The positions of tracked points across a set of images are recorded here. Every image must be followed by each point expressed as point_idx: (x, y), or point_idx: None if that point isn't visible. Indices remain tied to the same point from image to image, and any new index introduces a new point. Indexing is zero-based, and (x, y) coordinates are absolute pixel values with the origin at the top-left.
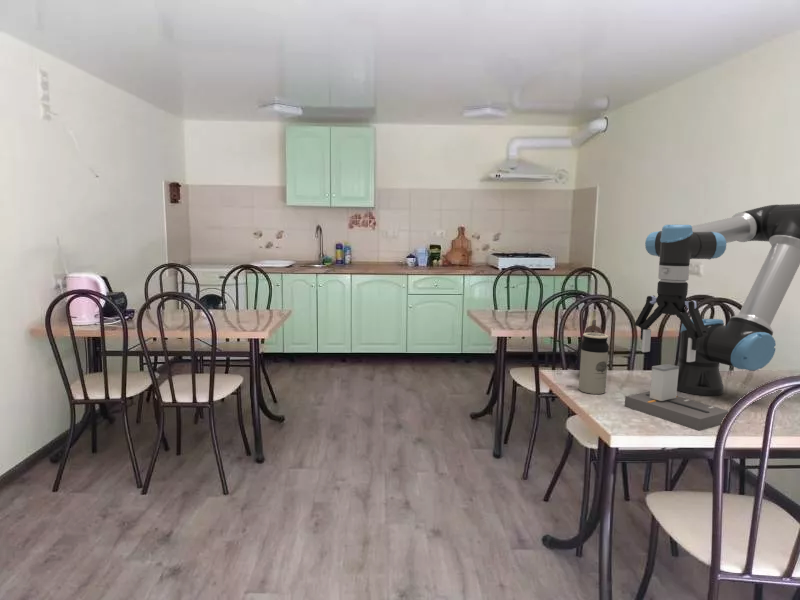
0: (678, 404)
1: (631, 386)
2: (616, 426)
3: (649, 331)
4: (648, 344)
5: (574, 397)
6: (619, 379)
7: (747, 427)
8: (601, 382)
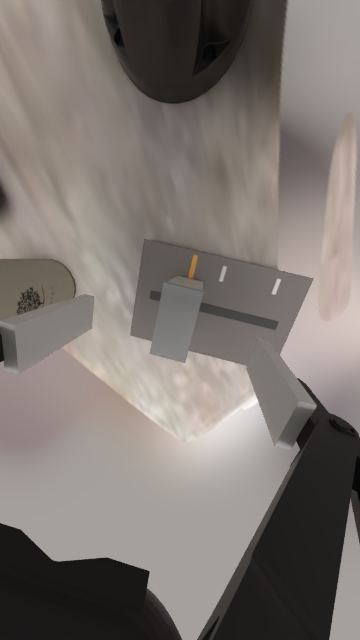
0: (218, 315)
1: (69, 171)
2: (174, 418)
3: (26, 336)
4: (75, 314)
5: None
6: (16, 124)
7: (334, 283)
8: (58, 298)
